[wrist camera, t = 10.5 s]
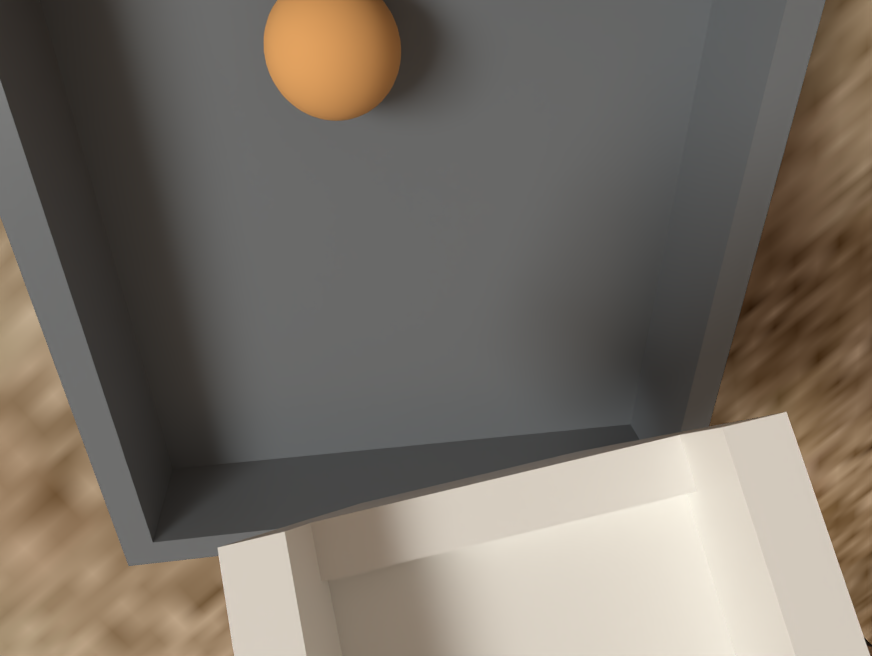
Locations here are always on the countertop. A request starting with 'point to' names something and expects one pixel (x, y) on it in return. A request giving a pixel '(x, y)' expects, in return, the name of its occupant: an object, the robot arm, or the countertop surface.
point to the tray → (383, 242)
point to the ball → (332, 55)
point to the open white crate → (564, 561)
